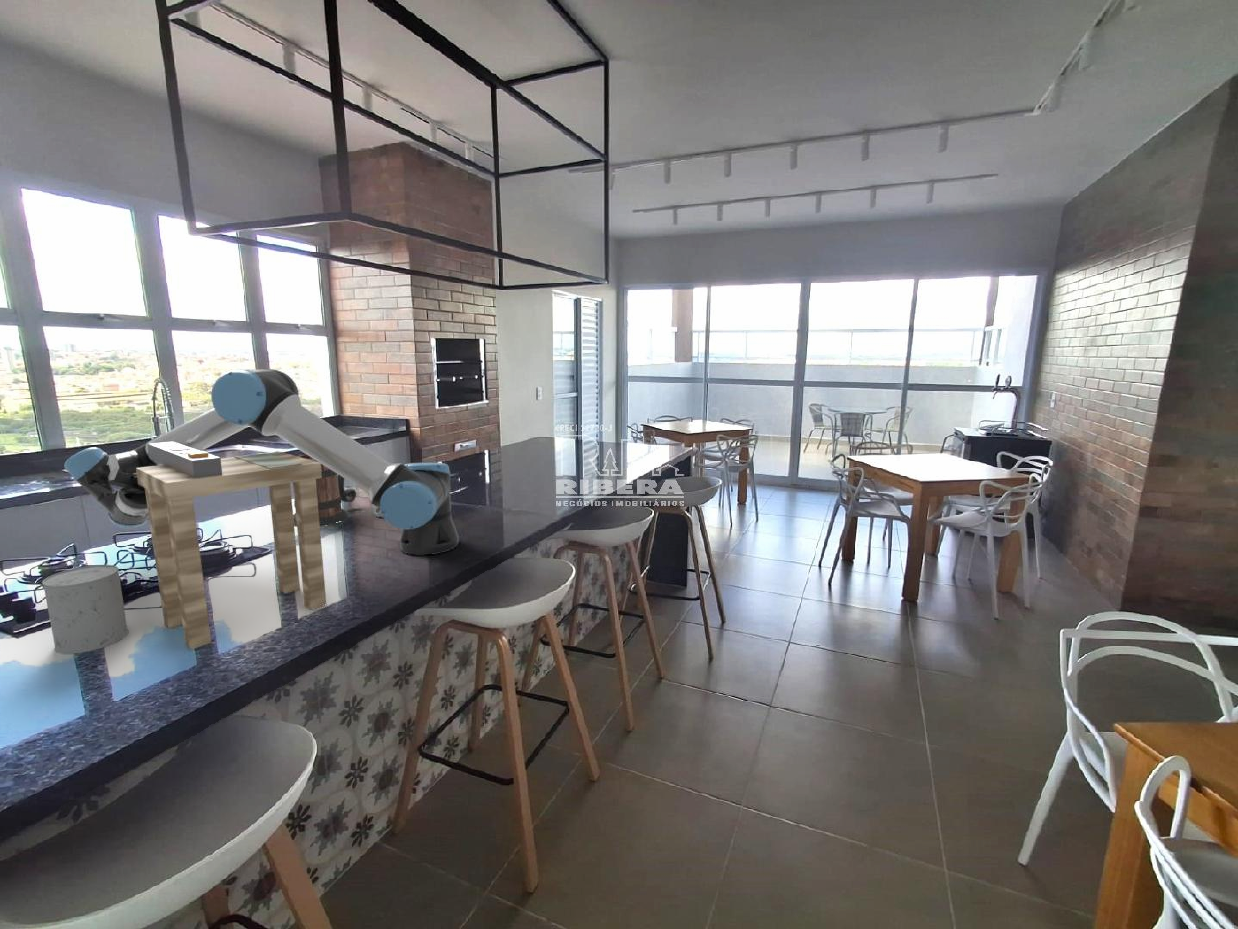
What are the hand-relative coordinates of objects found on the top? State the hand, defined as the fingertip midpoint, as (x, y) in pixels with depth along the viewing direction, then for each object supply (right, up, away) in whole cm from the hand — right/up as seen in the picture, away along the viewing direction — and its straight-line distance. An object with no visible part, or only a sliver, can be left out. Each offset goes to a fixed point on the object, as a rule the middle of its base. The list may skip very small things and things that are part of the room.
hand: (160, 456), depth 108 cm
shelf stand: (+17, -31, 0) cm, 36 cm away
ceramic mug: (+16, -18, +71) cm, 75 cm away
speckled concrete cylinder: (-3, -33, -11) cm, 35 cm away
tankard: (-2, -18, +66) cm, 69 cm away
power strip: (+10, -2, -7) cm, 13 cm away
